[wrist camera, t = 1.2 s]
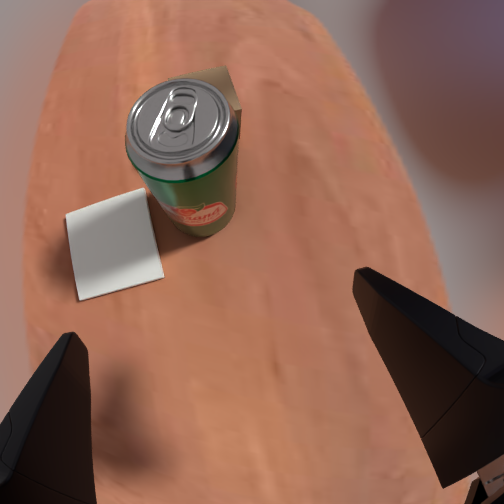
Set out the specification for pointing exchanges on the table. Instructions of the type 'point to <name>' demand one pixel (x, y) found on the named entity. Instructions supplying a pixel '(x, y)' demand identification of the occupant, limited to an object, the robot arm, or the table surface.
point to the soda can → (187, 152)
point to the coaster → (113, 245)
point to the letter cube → (218, 85)
